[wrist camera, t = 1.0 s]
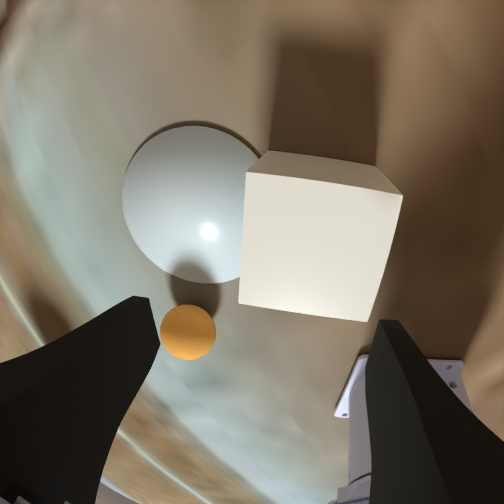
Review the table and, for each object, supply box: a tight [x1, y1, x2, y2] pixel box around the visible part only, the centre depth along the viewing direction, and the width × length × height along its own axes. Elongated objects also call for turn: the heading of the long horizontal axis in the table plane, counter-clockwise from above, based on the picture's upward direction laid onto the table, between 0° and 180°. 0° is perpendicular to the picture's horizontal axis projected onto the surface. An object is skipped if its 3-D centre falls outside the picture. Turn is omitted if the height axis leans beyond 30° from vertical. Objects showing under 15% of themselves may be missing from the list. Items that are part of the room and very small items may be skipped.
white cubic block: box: [239, 150, 403, 322], centre depth 14 cm, size 6×6×6 cm
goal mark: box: [122, 126, 259, 283], centre depth 18 cm, size 10×10×1 cm
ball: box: [160, 304, 216, 360], centre depth 20 cm, size 4×4×4 cm
